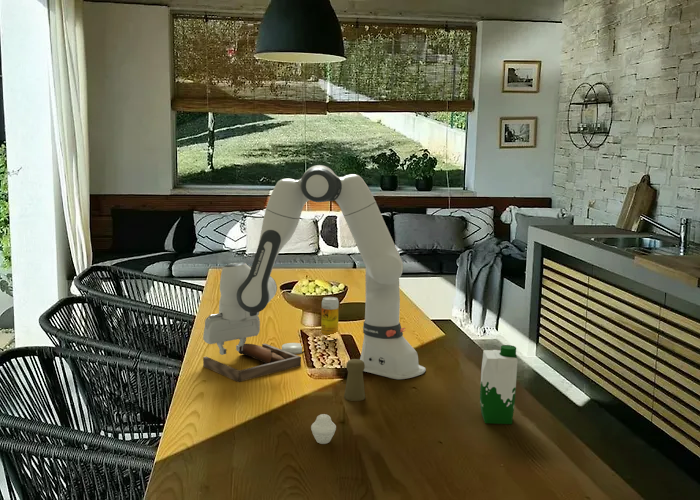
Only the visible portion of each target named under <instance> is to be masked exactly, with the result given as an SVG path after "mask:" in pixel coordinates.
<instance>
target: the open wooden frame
mask: <svg viewBox="0 0 700 500" xmlns="http://www.w3.org/2000/svg"><path fill="white" fill-rule="evenodd" d="M261 347H264V348H267V349H270V350H272V351H273V353H275V354H277V355H279V356H281V357H283V358H284V360H280V361H276V362H272V363H268V364H267V363H264V364H261V365H256V366H252V367H248V368H244V369H237V368H235V367H232V366H230V365H228V364H225V363H223V362H220V361H218V360H216V359H214V358H211V357H210V356H209V357H208V356H203V358H202V362H203V363H202V365H203V367H204V368H206V369H209V370H211V371H212V370H213V372H215V373H218V374H219V375H222V376H224V377H226V378H228V379H231V380H233V381H235V382H238V383H240V382H244V381H247V380H251V379H255V378H259V377H262V376H266V375H270V374H274V373H279V372H282V371H287V370H291V369H294V368H298V367H301V366H302V356H300V355H297V354H292V353H289V352H287V351H284V350H282V348H278V347H276V346H272V345H270V344H268V343H262V344H261Z"/></svg>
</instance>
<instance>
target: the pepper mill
mask: <svg viewBox="0 0 700 500" xmlns="http://www.w3.org/2000/svg"><path fill="white" fill-rule="evenodd" d="M364 368H365V364H364V362H363V361H362V360H360V358H352V359H349V360H348V361H347V362H346V369H347V376H346V384H345V389H344V396H343V398H344V399H345V400H347V401H351V402H360V401H363V400H365V399H366V393H365V391H366V390H365V383H364V372H365V371H364Z"/></svg>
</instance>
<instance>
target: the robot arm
mask: <svg viewBox="0 0 700 500" xmlns="http://www.w3.org/2000/svg"><path fill="white" fill-rule="evenodd" d="M309 201H311V202H314V203H326V202H333V201H335V202H336V204H337V205H338V207H339V209H340V211H341V213H342V216H343V217H344V219H345V222H346V224H347V226H348V230H349V231H350V233H351V235H352V237H353V241H354V242H355V244H356V247H357V250H358V251H359V254H360V257H361V259H362V261H363V263H364V266H365V304H364V305H365V307H364V308H365V310H364V311H365V312H364V320H363V326H362V329H363V330H362V333H363V340H362V348H361V353H360V357H359V360H362V361H363V362H364V364H365V368H364V371H363V372H365V373H366V372H367V373H371V374H374V375H378V376H381V377H386V378H389V379H394V380H405V379H410V378H415V377H418V376H420V375H421V376H422V375H424V374H425V372H426V369H427V368H426V367H424V366H423V365H420V364H419V355H418V352H417V351H416V349H415V348H414V347H413V346H412V345H411V344H410V342H409V341H408V340H407V339H406V338H405V337H404V336H403V335H404V333H403V332H406V330H405V329H406V327H402V326H401V323H400V308H401V307H400V306H401V305H400V303H401V295H400V279H401V276H402V274H403V270H404V263H403V260H402V258H401V256H400V254H399V251H398V249H397V247H396V245H395V243H394V240H393V238H392V236H391V233H390V231H389V228H388V226H387V225H386V222H385V220H384V217H383V215H382V213H381V211H380V208H379V206H378V204H377V201H376V200H375V197H374V196H373V193H372V191H371V190H370V188H369V186H368V185H367V184H366V182H365V181H364V179H363V177H361V176H360V175H359V174H355V173H349V174H345V175H343V176H338V175H337V174H336V173H335V170H333V169H332V168H331V167H330V166H328V165H324V164H317V165H312V166H311V167H309V168H307V170H306V171H305V172H304V173H303V174H302V175H301V176H300V177H299V178H298V179H294V178H291V177H290V178H289V177H288V178H281V179H279V180H278V181H277V182H276V184H275V186H274V188H273V189H272V192H271V194H270V195H269V198H268V202H267V205H266V206H265V207H266V208H265V211H264V215H263V218H262V219H263V220H262V224H261V231H260V237H259V241H258V246H257V249H256V252H255V256H254V257H253V258H254V259H253V261H252V264H251V267H250V266H249V265H248V264H247V263H246V262H244V261H235V262H234V261H233V262H231V263H227V264H226V265H225V266H223V267H222V269H221V273H220V280H219V292H220V298H219V302H218V303H219V304H218V313H215V314H210V315H209V316H207V317H206V318H205V319H204V327H203V328H204V329H203V333H202V334H203V336H202V338H203V341H204V342H205V343H206V344H209V345H215V344H216V345H217V347H218V348H219V355H223V356H224V355H227V348H225V347H224V345H225V342H229V341H235V340H239V342H238V344H236V349H235V350H236V351H237V352H238V351H243V345H244V344H246V341H247V338H251V337H256V336H258V335H259V334H260V331H261V330H260V328H261V327H260V326H261V321H260V317H259V315H260V312H262V311H263V310H264V309H266V307H267V305H268V304H269V303H270V302H271V301H272V300H273V299H274V297H275V296H276V294H277V290H278V286H277V282H276V280H275V279H274V278H273V277H272V276H271V274H272V271H273V268H274V266H275V262H276V260H277V257H278V255H279V253H280V252H281V251H282V249H283V248H284V247H285V245H287V243H288V242H289V241H290V240H291V239H292V237H293V236H294V233H295V232H296V230H297V227H298V225H299V222H300V219H301V215H302V212H303V209H304V207H305V204H307V202H309Z"/></svg>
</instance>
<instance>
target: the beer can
mask: <svg viewBox="0 0 700 500" xmlns="http://www.w3.org/2000/svg"><path fill="white" fill-rule="evenodd" d="M339 303H340V302H339V299H338V297H336V296H335V297H334V296H325V297H323V298H322V301H321V320H320V321H321V323H320V324H321V325H320V326H321V328H320V329H321V330H320V334H321V333H322V334H324V335H330V334H334V333H336V332H338V333H339V305H340V304H339Z"/></svg>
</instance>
